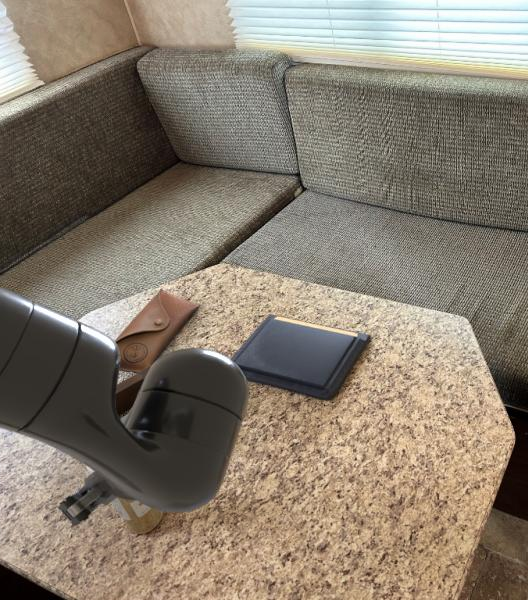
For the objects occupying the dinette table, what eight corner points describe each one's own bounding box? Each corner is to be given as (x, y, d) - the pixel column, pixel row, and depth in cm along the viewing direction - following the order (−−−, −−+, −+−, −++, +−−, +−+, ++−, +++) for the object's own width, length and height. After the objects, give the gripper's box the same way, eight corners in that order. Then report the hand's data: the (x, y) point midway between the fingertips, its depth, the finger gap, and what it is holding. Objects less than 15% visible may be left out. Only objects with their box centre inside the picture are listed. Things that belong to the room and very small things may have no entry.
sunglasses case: (150, 372, 98) (119, 344, 95) (126, 383, 101) (95, 356, 99) (203, 302, 111) (177, 276, 108) (180, 314, 115) (154, 289, 112)
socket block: (147, 487, 81) (137, 470, 79) (99, 418, 92) (88, 400, 89) (211, 445, 86) (203, 427, 83) (158, 383, 96) (149, 366, 94)
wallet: (217, 365, 96) (270, 306, 106) (220, 373, 97) (272, 314, 108) (327, 396, 89) (372, 330, 99) (329, 405, 90) (373, 338, 100)
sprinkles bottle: (166, 525, 77) (127, 460, 68) (129, 541, 75) (85, 477, 67) (161, 497, 80) (123, 432, 71) (125, 512, 78) (82, 448, 70)
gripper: (183, 372, 58) (154, 402, 71) (42, 478, 50) (38, 490, 63) (234, 432, 58) (196, 451, 72) (102, 547, 50) (86, 544, 63)
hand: (122, 469), depth 67 cm, fingers open, 8 cm apart
